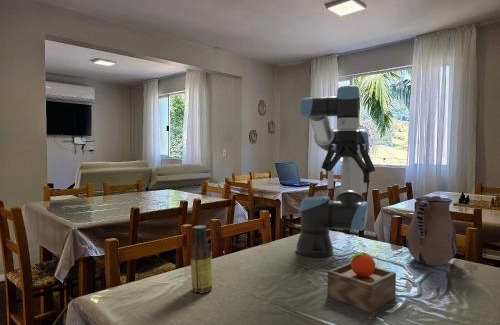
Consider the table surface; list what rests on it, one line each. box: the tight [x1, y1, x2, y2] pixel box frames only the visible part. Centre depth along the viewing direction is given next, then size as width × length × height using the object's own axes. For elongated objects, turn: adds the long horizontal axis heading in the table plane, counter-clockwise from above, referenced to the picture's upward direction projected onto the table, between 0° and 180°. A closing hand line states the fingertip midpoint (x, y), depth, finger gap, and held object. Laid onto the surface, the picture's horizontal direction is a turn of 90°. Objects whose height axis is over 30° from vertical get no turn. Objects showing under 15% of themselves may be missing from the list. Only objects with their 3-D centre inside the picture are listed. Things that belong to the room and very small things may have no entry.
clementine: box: [348, 252, 376, 277], centre depth 103 cm, size 8×7×7 cm
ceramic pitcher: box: [405, 195, 459, 266], centre depth 132 cm, size 18×21×25 cm
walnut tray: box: [326, 261, 397, 314], centre depth 103 cm, size 14×14×8 cm
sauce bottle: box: [190, 224, 213, 293], centre depth 107 cm, size 7×6×20 cm
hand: (346, 190), depth 124 cm, fingers open, 13 cm apart
